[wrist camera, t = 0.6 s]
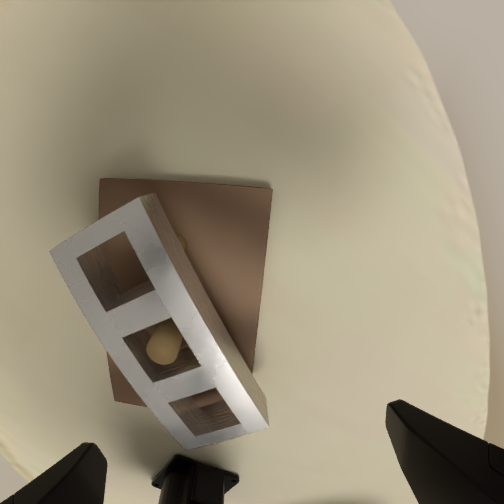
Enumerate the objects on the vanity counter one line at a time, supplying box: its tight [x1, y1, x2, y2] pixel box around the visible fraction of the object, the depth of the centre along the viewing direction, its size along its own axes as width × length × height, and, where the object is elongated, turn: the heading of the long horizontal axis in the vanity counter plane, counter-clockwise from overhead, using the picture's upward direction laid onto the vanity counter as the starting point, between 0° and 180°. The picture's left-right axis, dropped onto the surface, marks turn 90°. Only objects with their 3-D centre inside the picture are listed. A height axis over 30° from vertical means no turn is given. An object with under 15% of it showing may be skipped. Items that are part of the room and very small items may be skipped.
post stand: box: [99, 178, 273, 407], centre depth 18 cm, size 16×10×5 cm, turn 175°
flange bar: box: [50, 193, 269, 451], centre depth 16 cm, size 14×6×3 cm, turn 25°
